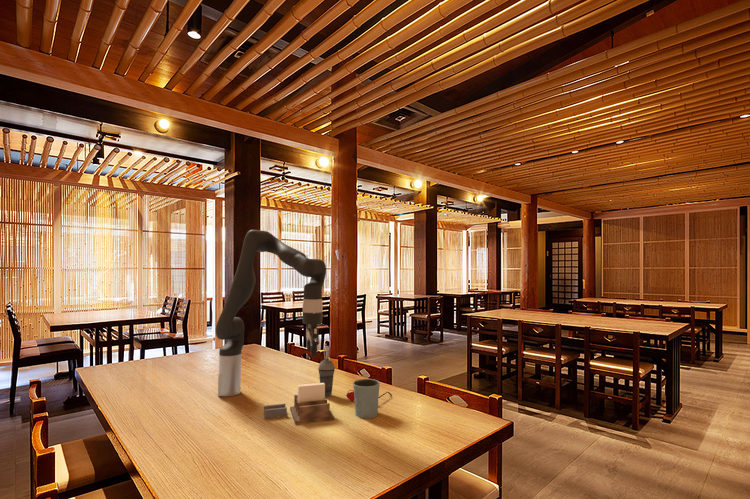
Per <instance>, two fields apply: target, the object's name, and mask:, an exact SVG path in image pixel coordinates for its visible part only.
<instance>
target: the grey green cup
mask: <svg viewBox="0 0 750 499" xmlns="http://www.w3.org/2000/svg"><path fill="white" fill-rule="evenodd" d="M380 383H381V382H380V381H379V380H377V379H373V378H360V379H357V380H354V381H353V383H352V385H353V386H352V387H353V390H354V396H355V397H354V398H355V401H354V411H355V416H356V417H358V418H361V419H372V418H376V417H377V416H378V413H379V399H380V398H379V397H380Z"/></svg>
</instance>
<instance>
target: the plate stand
mask: <svg viewBox="0 0 750 499" xmlns="http://www.w3.org/2000/svg"><path fill="white" fill-rule="evenodd" d="M286 405H287V404H286V403H285V402H284V403H277V404H276V403H275V404H267V405H263V415H264V416H263V418H264V419H265V420H266V419H273V418H283V417H287V416H288V415H287V414H288V412H287V410H288V408H287V406H286Z"/></svg>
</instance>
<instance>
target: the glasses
mask: <svg viewBox="0 0 750 499" xmlns="http://www.w3.org/2000/svg"><path fill="white" fill-rule="evenodd" d="M386 394H388V395H390V396H392V393H390V392H389V391H387V392H384V393H383V394H381V395H379V399H381V398H382V397H384V395H386ZM345 397H346V398H347V399H348V400H349V401H350V402H355V398H354V397H355V396H354V389H350V390H348V391H347V392H346V395H345Z"/></svg>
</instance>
